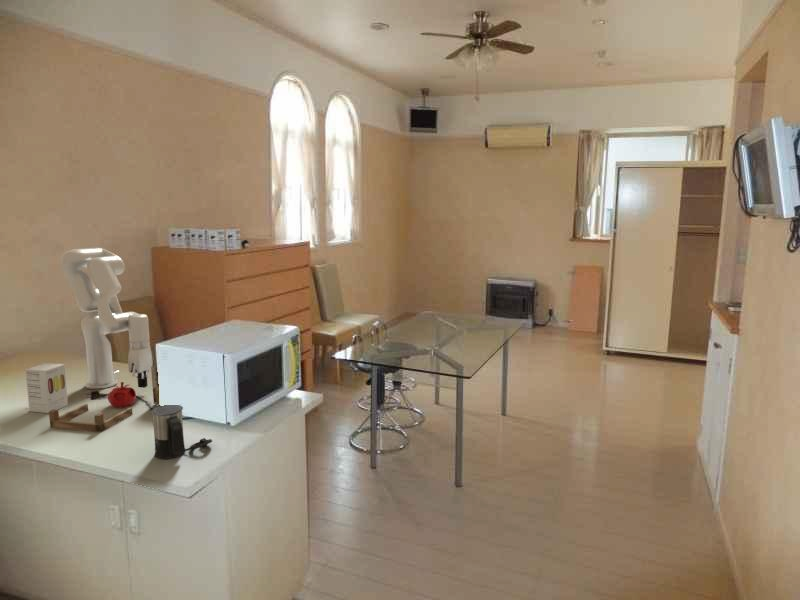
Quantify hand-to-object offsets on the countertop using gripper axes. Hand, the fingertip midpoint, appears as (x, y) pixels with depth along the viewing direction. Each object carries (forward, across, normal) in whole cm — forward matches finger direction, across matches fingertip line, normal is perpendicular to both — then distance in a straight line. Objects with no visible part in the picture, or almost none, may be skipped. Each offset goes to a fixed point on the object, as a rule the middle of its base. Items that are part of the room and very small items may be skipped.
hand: (142, 386), depth 227 cm
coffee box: (+4, +9, +17) cm, 19 cm away
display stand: (+3, +29, 0) cm, 30 cm away
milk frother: (+4, +46, +46) cm, 65 cm away
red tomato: (+4, +13, 0) cm, 13 cm away
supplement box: (+3, +22, -25) cm, 33 cm away
